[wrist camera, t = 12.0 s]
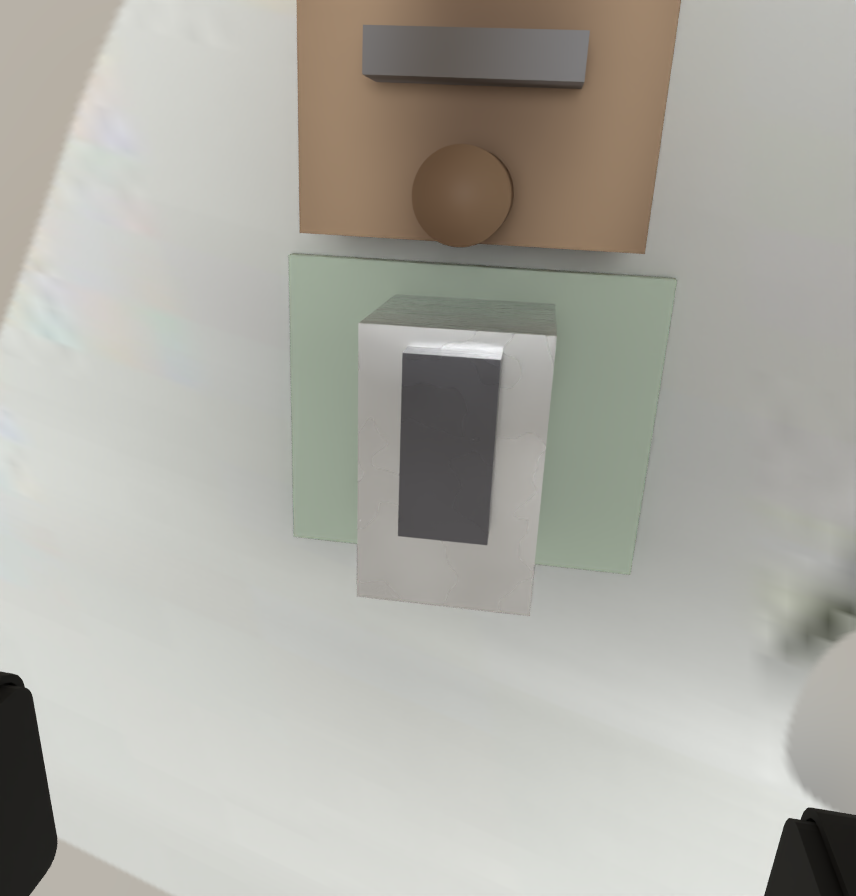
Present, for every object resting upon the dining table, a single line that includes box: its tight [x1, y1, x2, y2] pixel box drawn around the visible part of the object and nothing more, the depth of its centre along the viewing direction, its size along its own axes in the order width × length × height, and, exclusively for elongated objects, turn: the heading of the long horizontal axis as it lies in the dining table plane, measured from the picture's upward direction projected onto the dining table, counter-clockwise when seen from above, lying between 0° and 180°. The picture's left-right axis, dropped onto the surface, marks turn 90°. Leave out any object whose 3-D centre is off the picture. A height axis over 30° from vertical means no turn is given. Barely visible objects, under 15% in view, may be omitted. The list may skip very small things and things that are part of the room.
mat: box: [288, 253, 677, 575], centre depth 25 cm, size 12×10×1 cm
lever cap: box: [357, 294, 557, 616], centre depth 22 cm, size 5×8×6 cm, turn 178°
